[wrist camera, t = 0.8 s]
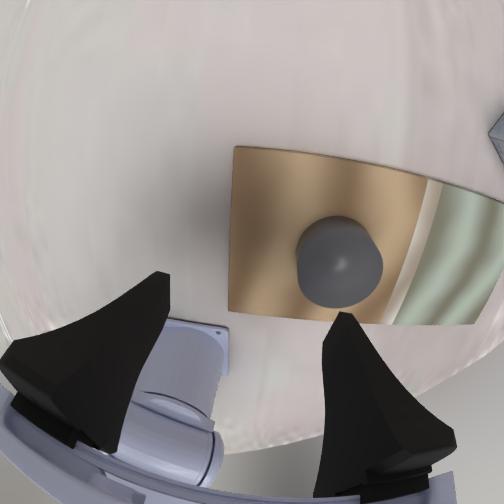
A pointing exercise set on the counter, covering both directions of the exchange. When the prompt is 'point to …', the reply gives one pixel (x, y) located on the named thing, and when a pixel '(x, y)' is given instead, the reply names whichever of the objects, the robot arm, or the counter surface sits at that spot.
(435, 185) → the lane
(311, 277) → the puck
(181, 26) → the counter surface
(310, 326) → the counter surface
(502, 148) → the medicine box
